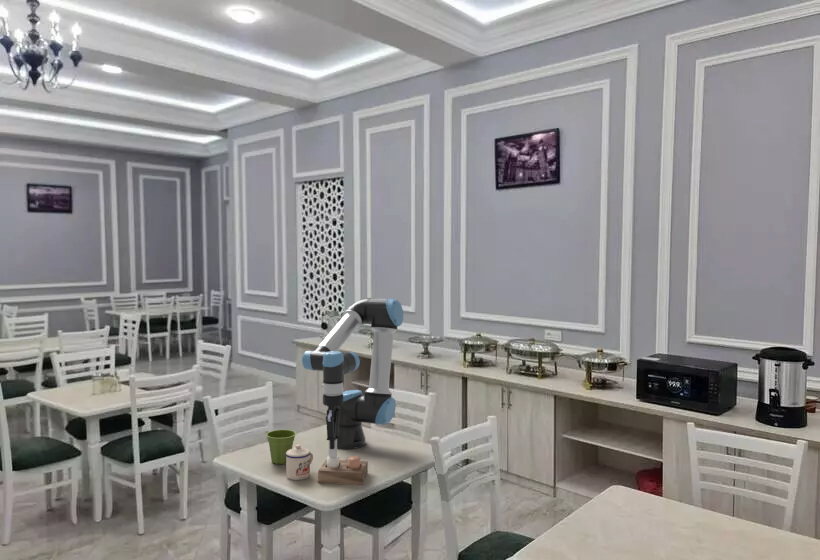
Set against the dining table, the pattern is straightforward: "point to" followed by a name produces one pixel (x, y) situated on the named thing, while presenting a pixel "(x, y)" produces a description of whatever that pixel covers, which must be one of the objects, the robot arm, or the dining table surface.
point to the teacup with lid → (298, 463)
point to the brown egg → (354, 462)
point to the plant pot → (280, 444)
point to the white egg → (333, 462)
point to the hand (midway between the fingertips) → (332, 456)
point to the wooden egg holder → (343, 473)
